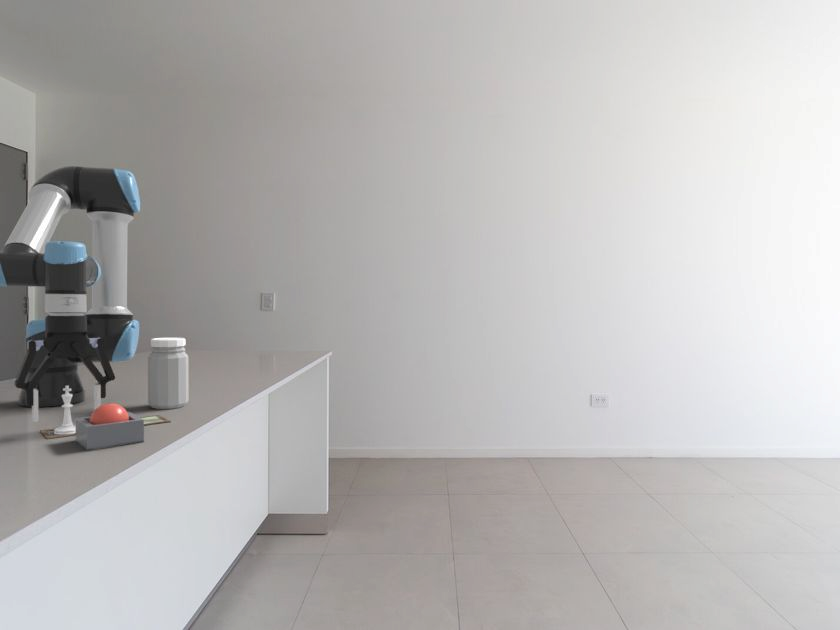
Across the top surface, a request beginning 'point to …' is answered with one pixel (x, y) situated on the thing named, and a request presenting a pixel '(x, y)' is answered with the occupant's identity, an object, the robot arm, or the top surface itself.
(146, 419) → the brown wooden flat frame
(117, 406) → the coral red ball
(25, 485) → the top surface
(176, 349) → the jar
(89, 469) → the top surface
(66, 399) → the chess piece
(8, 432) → the top surface
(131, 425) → the housing
